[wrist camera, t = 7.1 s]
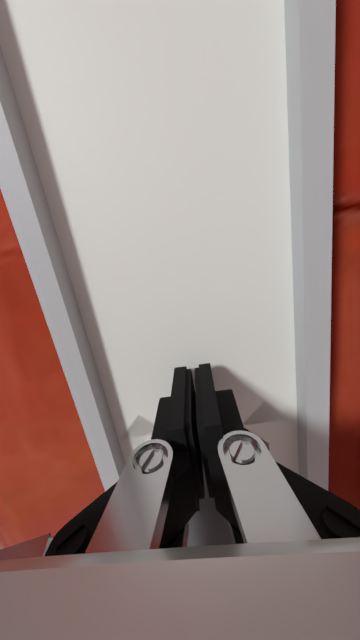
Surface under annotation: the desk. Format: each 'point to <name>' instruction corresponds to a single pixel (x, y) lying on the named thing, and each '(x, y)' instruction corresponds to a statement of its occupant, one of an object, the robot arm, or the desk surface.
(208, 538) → the ball
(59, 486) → the desk surface
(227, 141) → the tray
